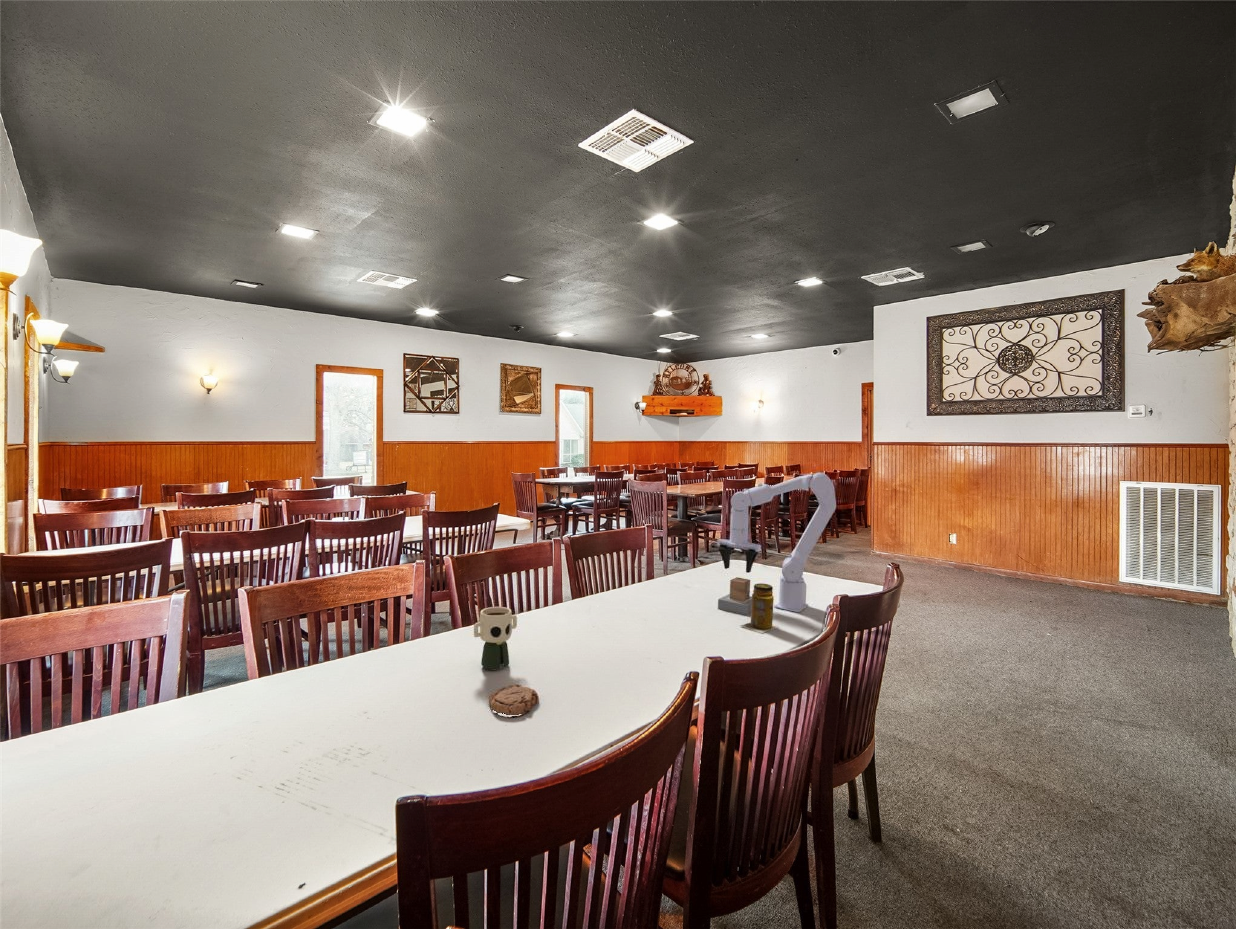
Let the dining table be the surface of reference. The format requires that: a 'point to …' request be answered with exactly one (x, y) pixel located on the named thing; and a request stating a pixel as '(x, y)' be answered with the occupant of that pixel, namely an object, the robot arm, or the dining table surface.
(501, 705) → the cookie
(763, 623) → the condiment
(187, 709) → the dining table surface
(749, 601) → the slate base
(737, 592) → the walnut block
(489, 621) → the character mug
